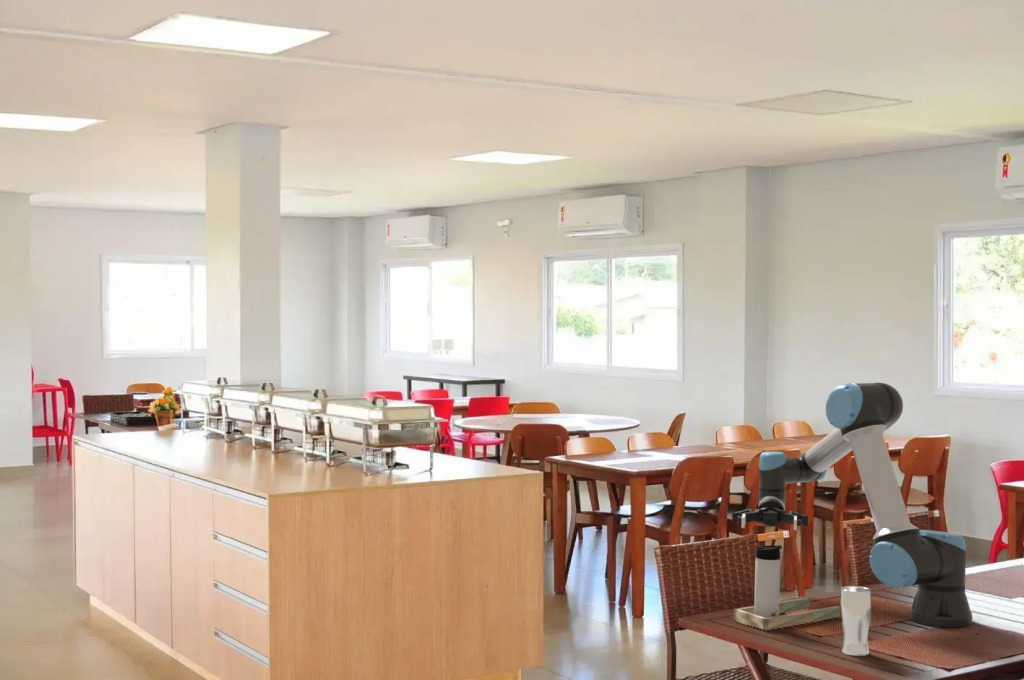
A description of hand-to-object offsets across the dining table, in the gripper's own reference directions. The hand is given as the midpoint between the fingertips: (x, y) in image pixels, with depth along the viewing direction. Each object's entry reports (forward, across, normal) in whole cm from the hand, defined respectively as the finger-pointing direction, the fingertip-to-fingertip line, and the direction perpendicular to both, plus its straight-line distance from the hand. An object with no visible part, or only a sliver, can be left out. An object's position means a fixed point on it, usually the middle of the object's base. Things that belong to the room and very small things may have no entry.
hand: (768, 524), depth 309 cm
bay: (+5, -5, -24) cm, 25 cm away
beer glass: (+32, -21, -24) cm, 45 cm away
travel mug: (+10, 0, -24) cm, 26 cm away
